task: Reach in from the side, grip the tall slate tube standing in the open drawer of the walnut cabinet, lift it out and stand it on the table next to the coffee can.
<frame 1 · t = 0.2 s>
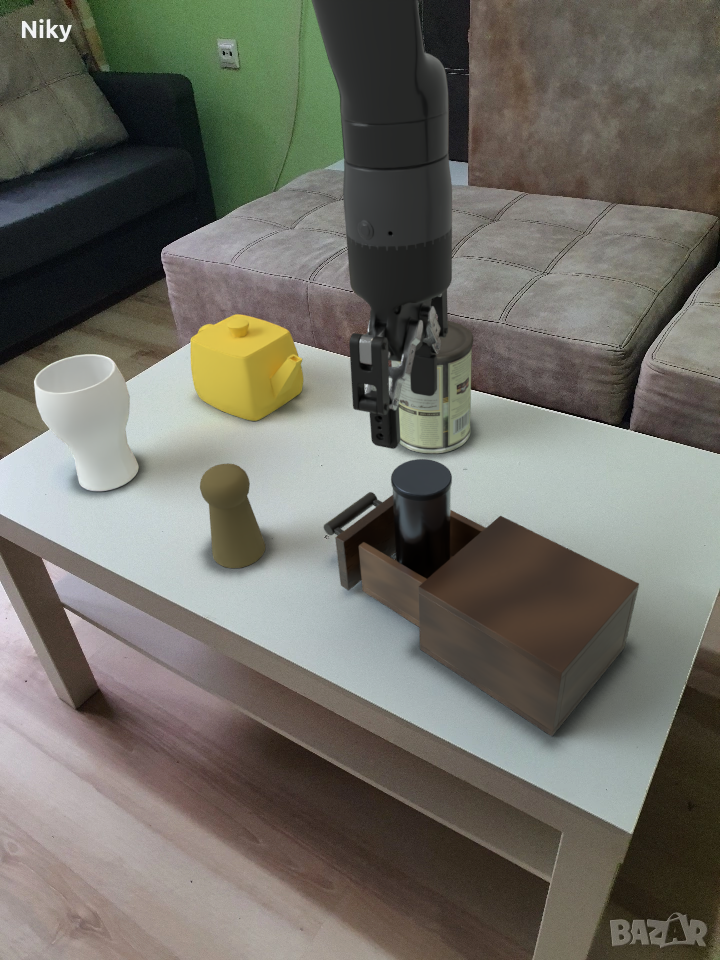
hand: (406, 417, 63), 23 cm above the table, tool pointing down, fingers open, 8 cm apart
teapot: (255, 397, 112), on the table
coffee can: (431, 433, 102), on the table
slate tube: (423, 576, 77), point 2 cm above the table, touching drawer
drawer: (409, 552, 77), point 4 cm above the table, slide at 10.0 cm, touching slate tube
pepper shaker: (239, 550, 86), on the table
cup: (109, 474, 99), on the table
cabinet: (521, 648, 72), on the table
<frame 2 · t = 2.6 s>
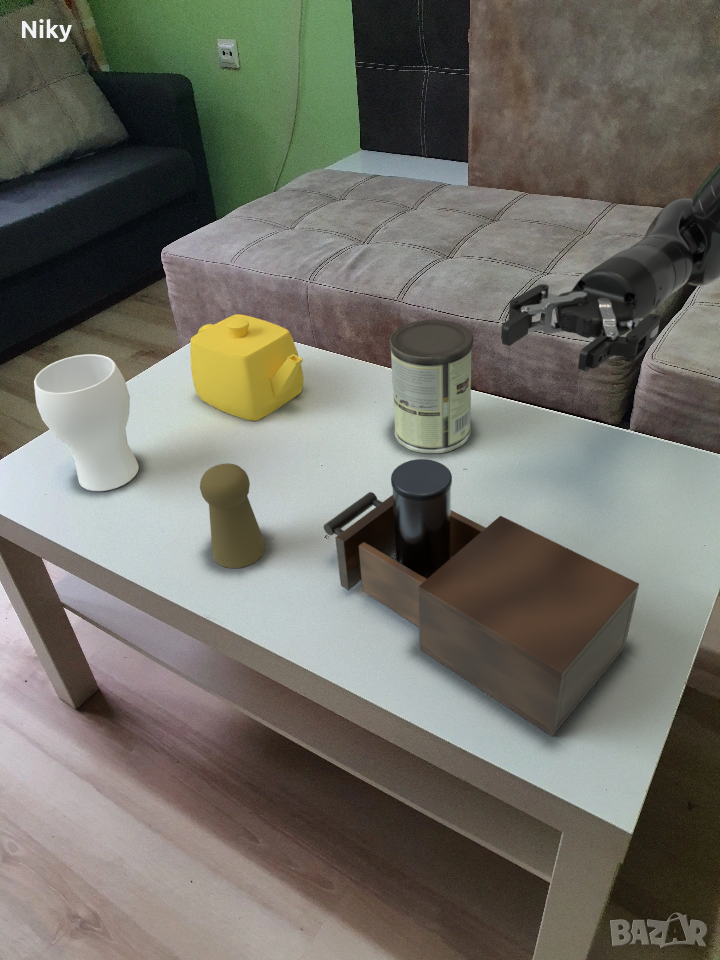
hand: (542, 349, 72), 22 cm above the table, tool horizontal, fingers open, 8 cm apart
nothing on the table moved.
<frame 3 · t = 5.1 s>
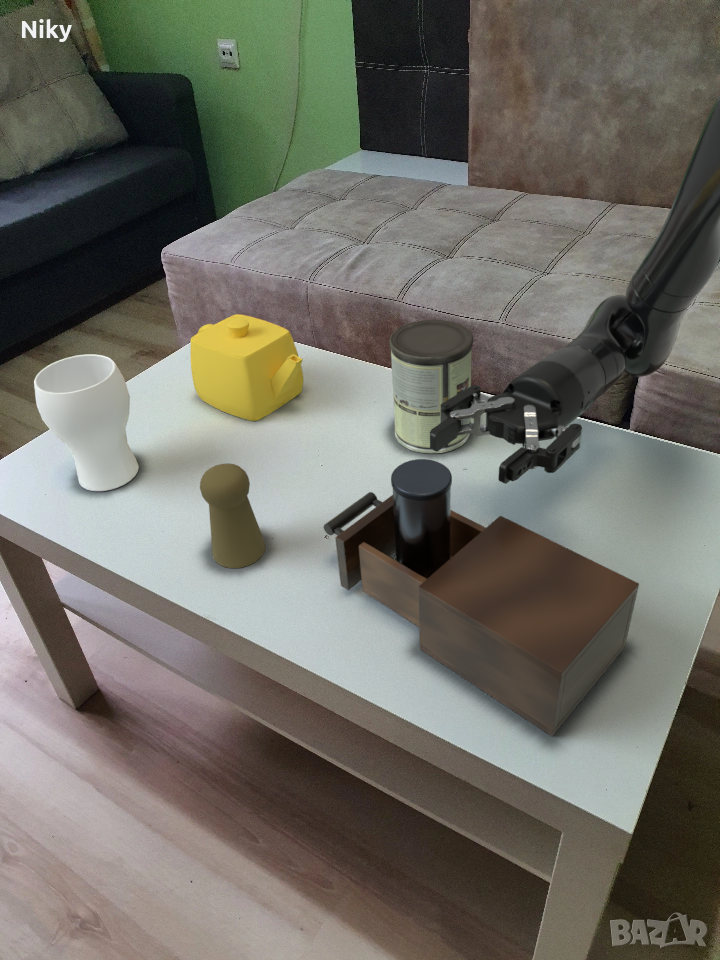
hand: (466, 458, 75), 13 cm above the table, tool horizontal, fingers open, 8 cm apart
nothing on the table moved.
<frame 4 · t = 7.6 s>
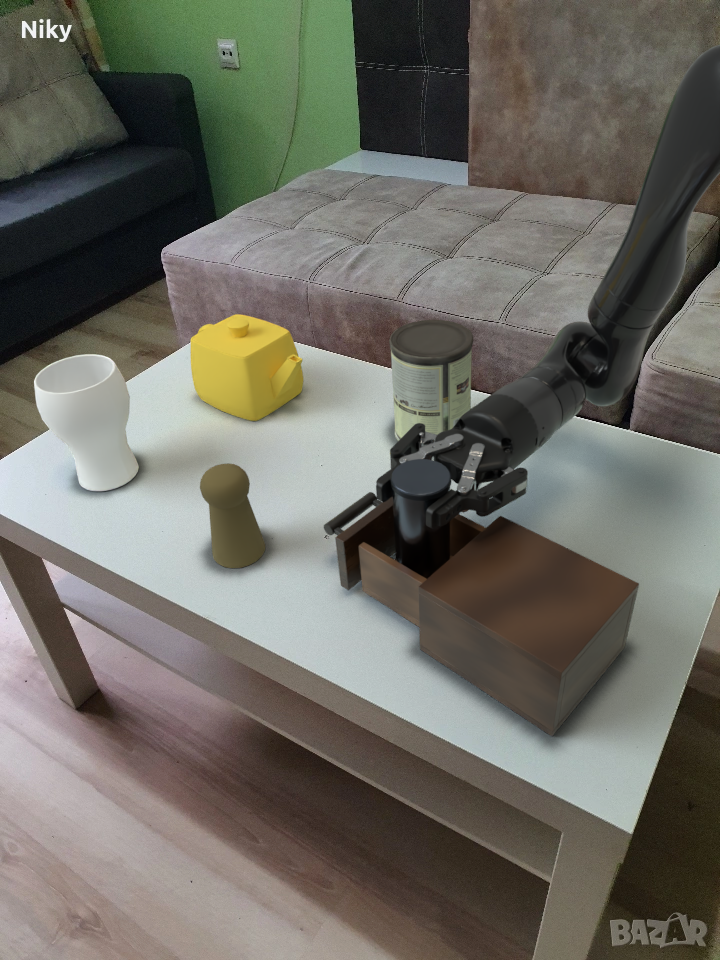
hand: (404, 506, 69), 13 cm above the table, tool horizontal, fingers closed on slate tube, 5 cm apart
slate tube: (423, 576, 77), point 2 cm above the table, touching drawer, gripper
everything else where it was.
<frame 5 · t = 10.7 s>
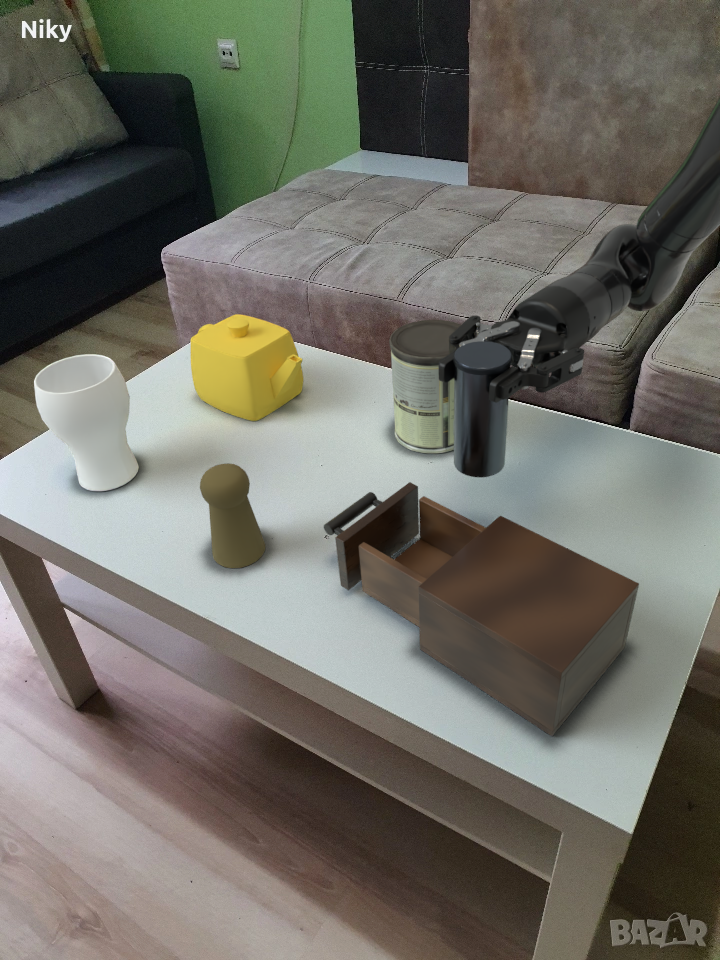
hand: (466, 383, 72), 20 cm above the table, tool horizontal, fingers closed on slate tube, 5 cm apart
slate tube: (479, 462, 81), point 9 cm above the table, touching gripper
drawer: (409, 552, 77), point 4 cm above the table, slide at 10.0 cm
everything else where it was.
when the fingers open (11 cm above the table, at t = 14.3 s): slate tube stays where it is, on the table.
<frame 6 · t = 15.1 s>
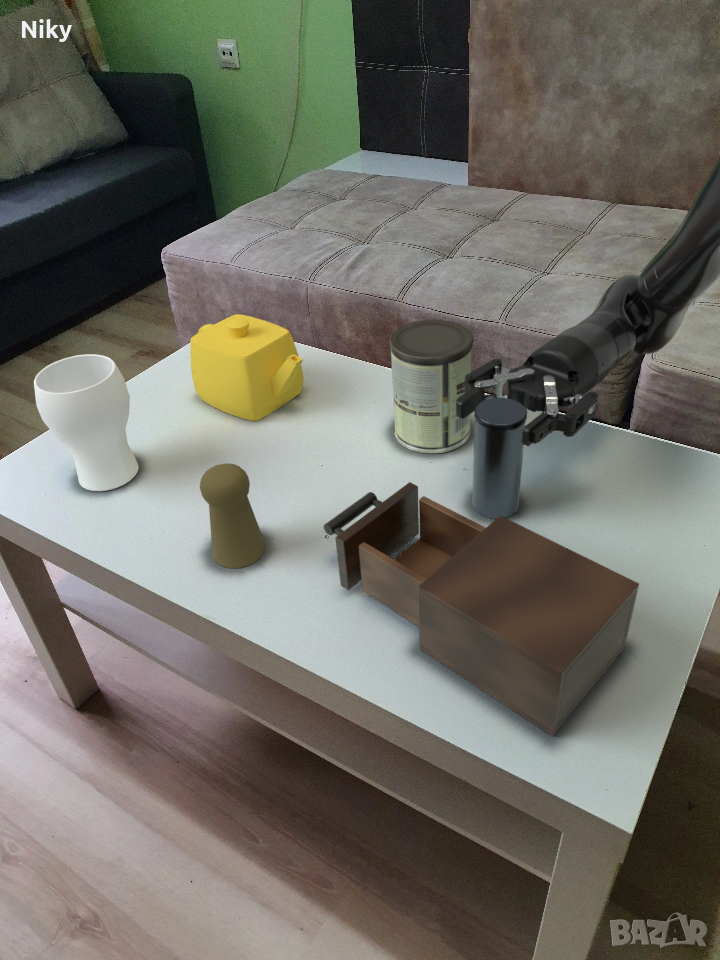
hand: (491, 424, 80), 12 cm above the table, tool horizontal, fingers open, 8 cm apart
slate tube: (495, 504, 89), on the table
everything else where it was.
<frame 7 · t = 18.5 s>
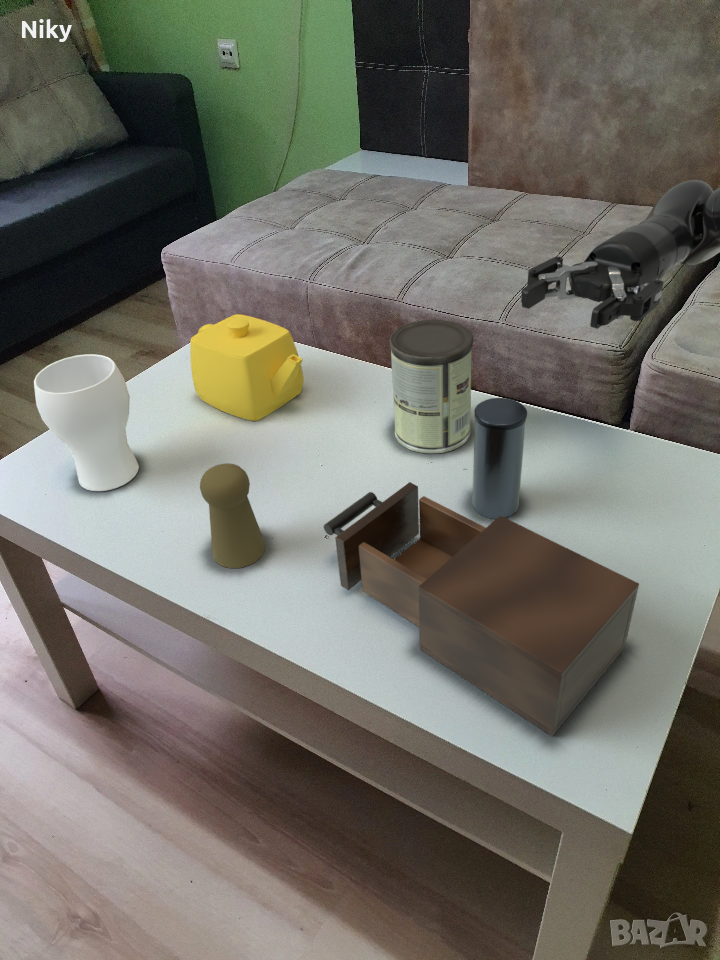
hand: (558, 309, 81), 21 cm above the table, tool horizontal, fingers open, 8 cm apart
nothing on the table moved.
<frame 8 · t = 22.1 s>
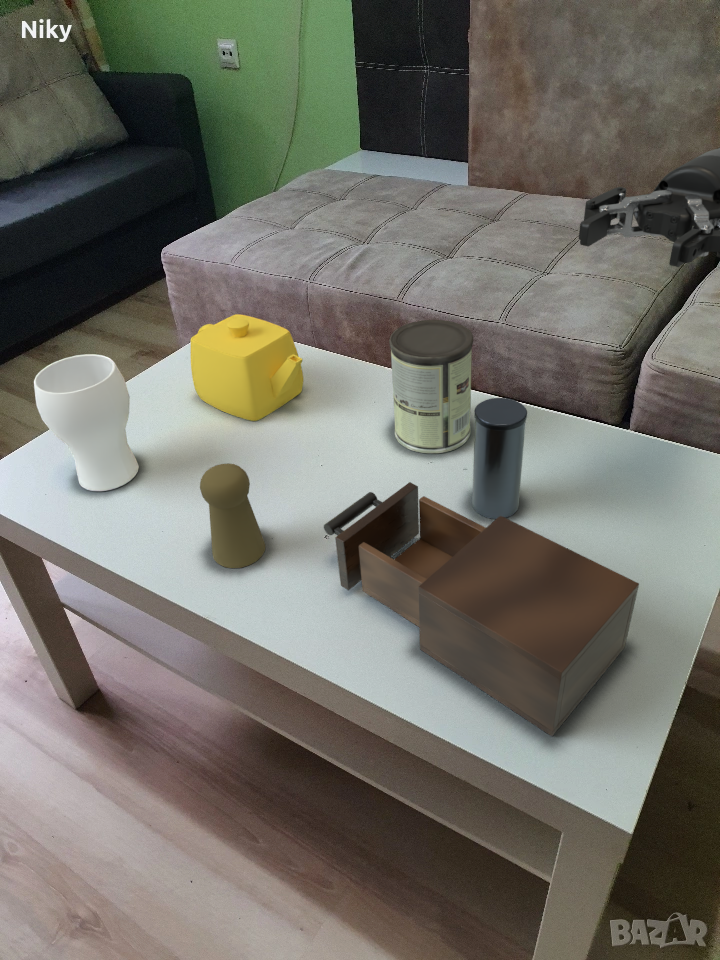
hand: (628, 245, 66), 32 cm above the table, tool horizontal, fingers open, 8 cm apart
nothing on the table moved.
at the end: slate tube touching table; slate tube tilted 0°; slate tube 16.9 cm from the coffee can (horizontally) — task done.
